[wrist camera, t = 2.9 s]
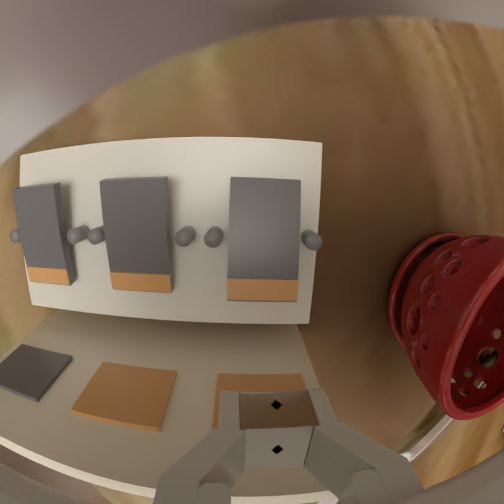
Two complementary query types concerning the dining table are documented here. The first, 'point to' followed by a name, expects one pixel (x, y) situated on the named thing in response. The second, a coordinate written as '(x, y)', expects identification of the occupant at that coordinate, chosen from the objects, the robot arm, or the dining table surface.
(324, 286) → the dining table surface
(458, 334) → the plant pot
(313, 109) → the dining table surface
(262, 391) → the robot arm
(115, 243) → the switch middle
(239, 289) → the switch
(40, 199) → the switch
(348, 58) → the dining table surface
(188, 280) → the switch unit
